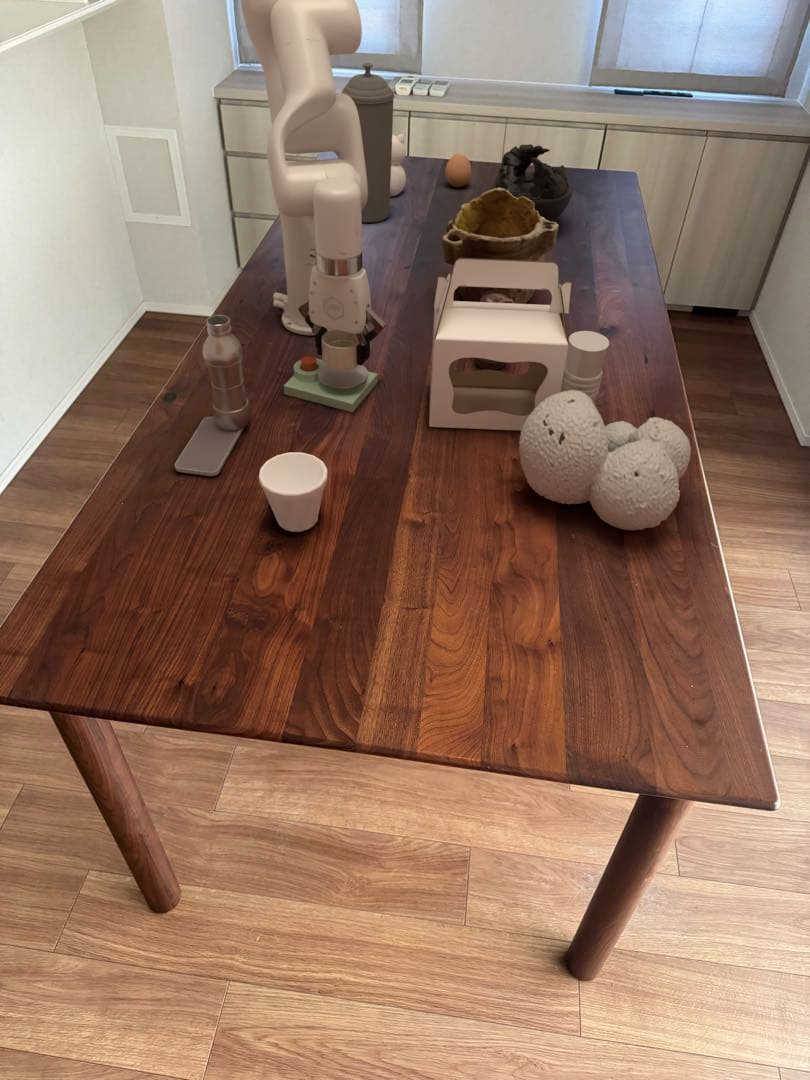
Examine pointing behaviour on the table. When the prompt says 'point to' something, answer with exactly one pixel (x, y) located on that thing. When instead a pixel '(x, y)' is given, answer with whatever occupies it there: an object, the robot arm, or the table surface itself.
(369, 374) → the scale
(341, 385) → the scale plate
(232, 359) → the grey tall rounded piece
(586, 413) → the grey lumpy cluster
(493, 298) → the can
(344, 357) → the bowl
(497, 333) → the cardboard gift box
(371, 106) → the canister
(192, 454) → the smartphone
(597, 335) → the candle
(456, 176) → the egg
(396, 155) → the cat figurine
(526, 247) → the ceramic vessel
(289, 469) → the cup
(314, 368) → the button
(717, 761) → the table surface
